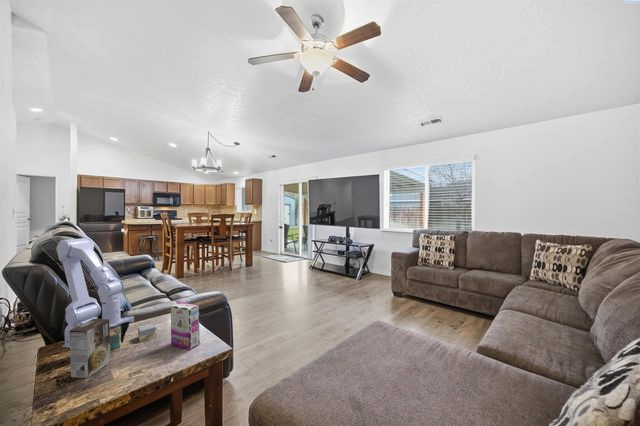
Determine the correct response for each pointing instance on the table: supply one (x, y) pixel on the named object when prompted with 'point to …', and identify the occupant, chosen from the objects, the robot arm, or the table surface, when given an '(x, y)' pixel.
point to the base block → (147, 337)
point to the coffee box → (89, 347)
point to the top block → (146, 329)
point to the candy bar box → (185, 325)
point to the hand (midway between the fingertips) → (112, 344)
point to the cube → (114, 342)
